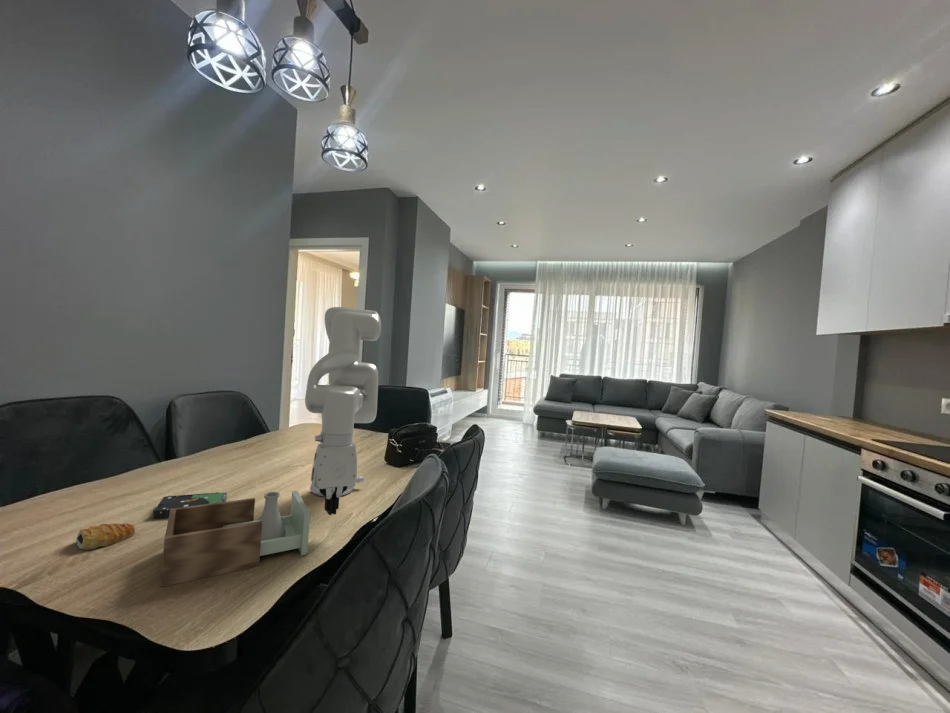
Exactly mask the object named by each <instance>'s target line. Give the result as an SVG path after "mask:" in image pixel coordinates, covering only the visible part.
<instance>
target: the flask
mask: <svg viewBox="0 0 950 713" xmlns="http://www.w3.org/2000/svg"><path fill="white" fill-rule="evenodd" d="M263 497H264V499H265V500H264V506H263V510H262V513H261V515H260V517H259V519H258V520H259V521H262V533H261V541H265V540H270V539H275V538H281V537H285V532H286V531H285V528H284V525H283V522H282V519H281V513H280V509H279V497H280V492H279V491H269V492H266V493H264V495H263Z"/></svg>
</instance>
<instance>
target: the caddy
mask: <svg viewBox="0 0 950 713" xmlns="http://www.w3.org/2000/svg"><path fill="white" fill-rule="evenodd" d="M255 505H256V498H255V497H253V498H252V497H251V498H245V499H238V500H230V501H229V500H228V501H226V502H220V503H212V504H204V505H196V506H188V507H181V508H173V509H170V513H169V518H167V524H166V529H165V535H164V541H163V550H162V551H163V553H162V565H161V579H160V580H161V581H160V588H163V587H167V586H168V587H169V586H172V585H177V584H181V583H186V582H191V581H196V580H200V579H205V578H208V577H214V576H219V575H223V574H228V573H233V572H237V571H238V572H239V571H241V570H246V569H252V568H256V567H259V566H260V557H261V556H260V546H261V533H262V521H259V522H253V523H247V524H241V525H234V526H228V527H223V526H224V525H230V524H236V523H243V522H249V521H255V520H254V518H255V517H254V516H255Z"/></svg>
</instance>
